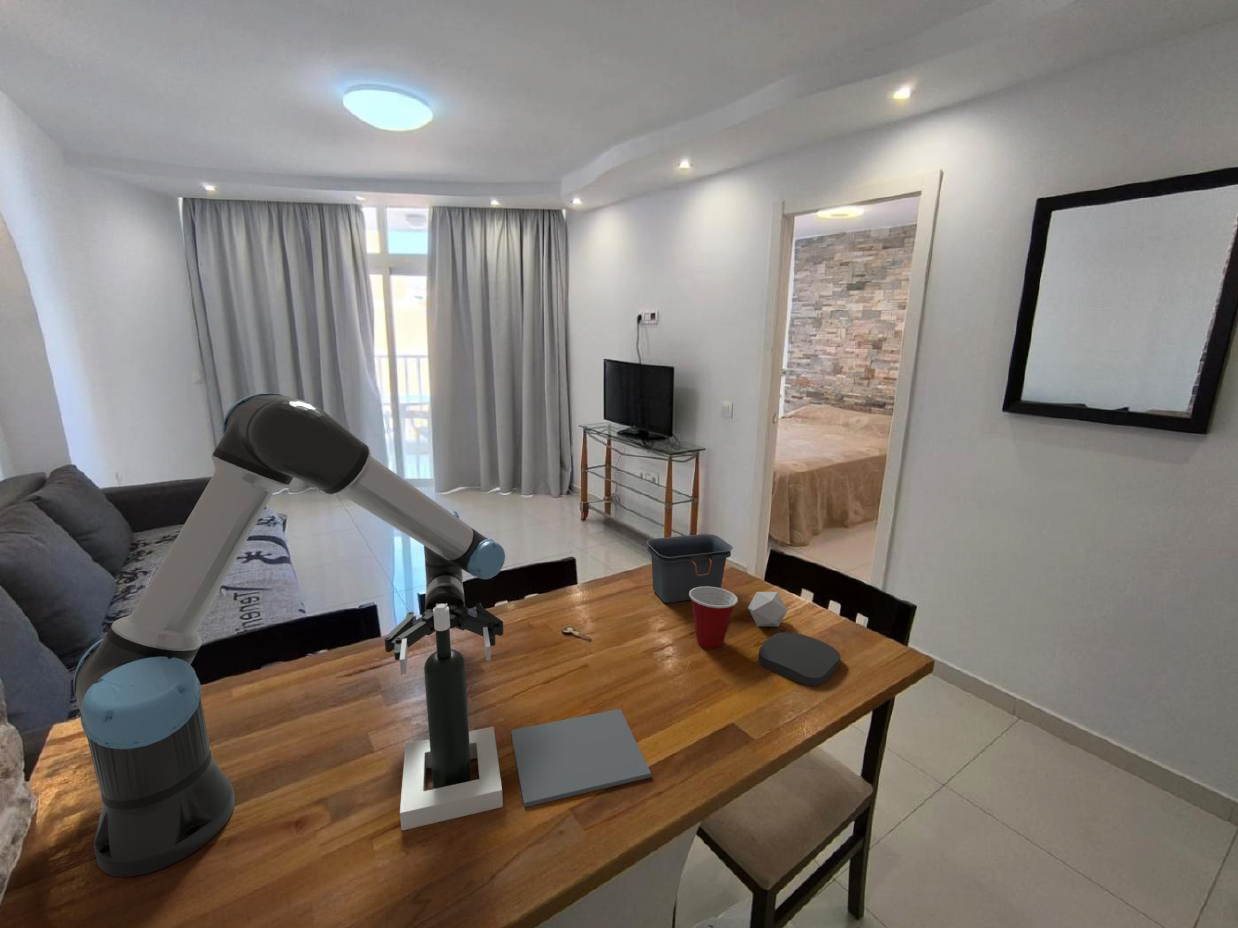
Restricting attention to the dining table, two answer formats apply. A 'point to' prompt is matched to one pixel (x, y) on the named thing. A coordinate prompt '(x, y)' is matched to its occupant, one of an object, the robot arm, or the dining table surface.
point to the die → (767, 609)
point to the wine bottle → (447, 707)
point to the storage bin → (687, 564)
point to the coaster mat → (576, 756)
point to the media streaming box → (799, 658)
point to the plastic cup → (711, 614)
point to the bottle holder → (454, 798)
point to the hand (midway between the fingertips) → (446, 660)
